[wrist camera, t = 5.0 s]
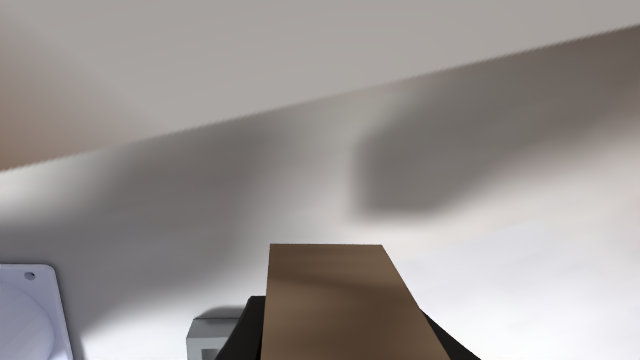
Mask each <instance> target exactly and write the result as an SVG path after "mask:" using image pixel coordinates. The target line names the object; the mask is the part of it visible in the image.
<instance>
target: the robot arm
mask: <svg viewBox="0 0 640 360" xmlns="http://www.w3.org/2000/svg"><path fill="white" fill-rule="evenodd" d="M30 272H32V273H33V274H34V275H35V276H33V275H32V274H31V273H30ZM265 301H266V296H251V297H250V298H249V299H248V301H247V304H246V306H245V309H244V311H243V313H242V315H241V317H240V319H239V320H238V322H237V324H236V326H235V328H234V329H233V331H232V333H231V334H230V336H229V338H228V339H227V341H226V342H225V344H224V346H223V347H222V348H221V350H220V351H219V353H218V354H217V356H216V357H215V359H214V360H261V349H262V337H263V325H264V313H265ZM420 310H421V309H420ZM421 311H422V310H421ZM422 313H423V315H424V316H425V318H426V320H427V321H428V323H429V325H430V326H431V328H432V330H433V331H434V333H435V335H436V336H437V338H438V340H439V341H440V343H441V345H442V346H443V348H444V350H445V351H446V353H447V355H448V356H449V358H450V360H481V359H480V358H478V357H477V356H476V355H474V354H473V353H472V352H470V351H469V350H468V349H467V348H465V347H464V346H463V345H461V344H460V343H459V342H458V341H456V340H455V339H454V338H453V337H452V336H450V335H449V334H448V333H447V332H446V331H445V330H443V329H442V328H441V327H440V326H439V325H438V324H437V323H435V322H434V321H433V320H432V319H431V318H430V317H429V316H428V315H426V314H425V313H424V312H423V311H422ZM0 360H73V356H72V351H71V346H70V341H69V337H68V332H67V327H66V322H65V318H64V313H63V308H62V303H61V299H60V294H59V289H58V284H57V280H56V275H55V271H54V269H53V268H52V267H50V266H48V265H44V264H0Z"/></svg>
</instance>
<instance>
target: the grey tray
mask: <svg viewBox="0 0 640 360" xmlns="http://www.w3.org/2000/svg"><path fill="white" fill-rule="evenodd" d="M239 319H240V318H229V319H193V322H192V324H191V327H190V329H189V332H188V335H187V337H186V344H187V359H188V360H214V359H215V357H216V356H217V354H218V353H219V351H220V350H221V348H222V347H223V346H224V344H225V342H226V341H227V339H228V338H229V336H230V334H231V333H232V331H233V329H234V328H235V326H236V324H237V322H238V320H239Z"/></svg>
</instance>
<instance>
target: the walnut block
mask: <svg viewBox="0 0 640 360" xmlns="http://www.w3.org/2000/svg"><path fill="white" fill-rule="evenodd" d="M261 360H450V358H449V356H448V355H447V353H446V351H445V350H444V348H443V346H442V345H441V343H440V341H439V340H438V338H437V336H436V335H435V333H434V331H433V330H432V328H431V326H430V325H429V323H428V321H427V320H426V318H425V316H424V315H423V313H422V311H421V310H420V308H419V306H418V305H417V303H416V301H415V300H414V298H413V296H412V295H411V293H410V291H409V290H408V288H407V286H406V284H405V283H404V281H403V279H402V278H401V276H400V274H399V273H398V271H397V269H396V268H395V266H394V264H393V263H392V261H391V259H390V258H389V256H388V254H387V253H386V251H385V249H384V248H383V246H382V245H357V244H270V253H269V265H268V277H267V289H266V301H265V313H264V325H263V337H262V349H261Z"/></svg>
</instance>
